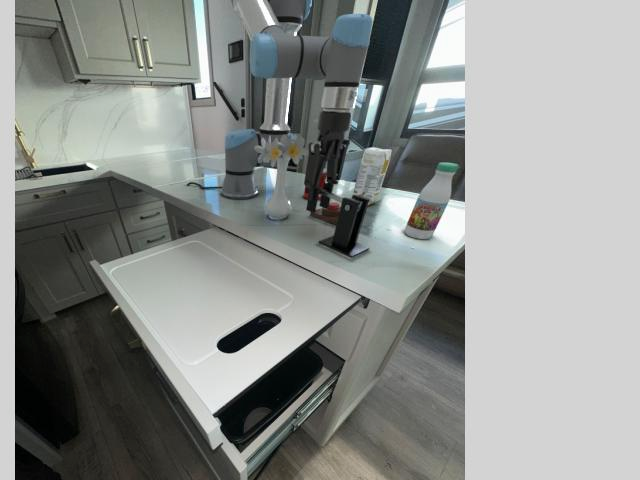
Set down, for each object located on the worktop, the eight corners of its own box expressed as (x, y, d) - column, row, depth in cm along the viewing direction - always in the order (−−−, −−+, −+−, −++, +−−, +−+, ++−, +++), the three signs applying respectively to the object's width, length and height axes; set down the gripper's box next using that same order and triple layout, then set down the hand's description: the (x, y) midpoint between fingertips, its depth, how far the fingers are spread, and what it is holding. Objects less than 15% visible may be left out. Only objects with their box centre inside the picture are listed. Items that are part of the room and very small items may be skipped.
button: (324, 208, 90) (326, 203, 89) (331, 206, 92) (332, 201, 91) (333, 211, 88) (334, 206, 87) (340, 209, 90) (341, 204, 88)
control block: (309, 217, 93) (311, 206, 91) (325, 212, 98) (328, 201, 95) (335, 227, 86) (338, 215, 84) (351, 221, 91) (354, 209, 88)
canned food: (320, 195, 114) (325, 167, 107) (323, 201, 108) (329, 171, 101) (302, 194, 115) (306, 166, 108) (304, 200, 108) (308, 171, 102)
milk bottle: (402, 228, 87) (430, 160, 74) (429, 231, 84) (462, 162, 72) (404, 237, 81) (435, 165, 69) (433, 241, 79) (470, 168, 66)
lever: (312, 196, 74) (314, 187, 72) (323, 193, 76) (326, 184, 74) (351, 214, 66) (354, 204, 65) (363, 210, 69) (366, 201, 67)
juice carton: (368, 207, 102) (384, 151, 91) (348, 201, 108) (362, 148, 96) (377, 203, 106) (395, 149, 95) (358, 198, 111) (373, 146, 100)
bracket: (318, 245, 76) (328, 195, 68) (335, 238, 80) (347, 190, 72) (351, 260, 69) (367, 207, 61) (368, 251, 73) (385, 201, 65)
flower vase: (264, 206, 102) (269, 129, 87) (307, 218, 93) (321, 134, 77) (243, 215, 94) (244, 133, 79) (287, 229, 85) (298, 138, 69)
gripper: (324, 112, 56) (305, 220, 70) (372, 110, 64) (347, 206, 79) (298, 110, 60) (285, 211, 75) (346, 109, 69) (326, 199, 83)
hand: (317, 208), depth 77 cm, fingers closed on lever, 5 cm apart
